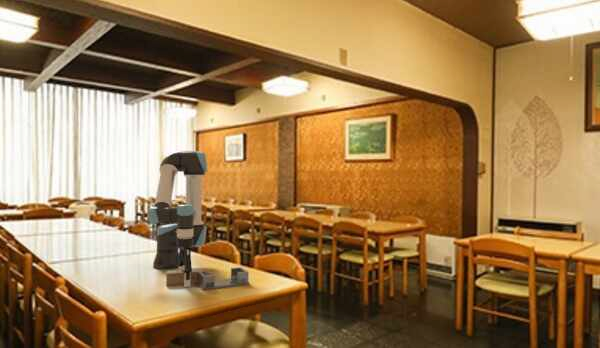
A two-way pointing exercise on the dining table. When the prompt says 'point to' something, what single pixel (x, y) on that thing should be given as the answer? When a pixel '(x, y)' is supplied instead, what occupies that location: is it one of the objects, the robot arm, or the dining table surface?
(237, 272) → the bracket
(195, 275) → the brown wooden block
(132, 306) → the dining table surface
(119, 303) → the dining table surface
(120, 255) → the dining table surface
